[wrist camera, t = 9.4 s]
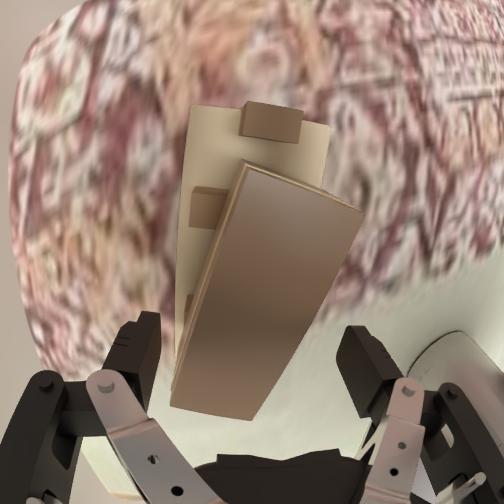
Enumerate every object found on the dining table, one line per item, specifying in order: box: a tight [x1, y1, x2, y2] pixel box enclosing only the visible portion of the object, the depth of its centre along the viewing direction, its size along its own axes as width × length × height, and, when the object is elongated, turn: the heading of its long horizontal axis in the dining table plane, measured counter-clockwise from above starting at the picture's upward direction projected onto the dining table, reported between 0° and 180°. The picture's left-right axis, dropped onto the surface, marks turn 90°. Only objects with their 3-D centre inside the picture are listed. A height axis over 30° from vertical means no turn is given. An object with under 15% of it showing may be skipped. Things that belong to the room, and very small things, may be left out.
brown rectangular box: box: [170, 159, 365, 421], centre depth 14 cm, size 5×12×5 cm, turn 160°
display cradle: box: [175, 101, 331, 364], centre depth 17 cm, size 8×18×5 cm, turn 172°
